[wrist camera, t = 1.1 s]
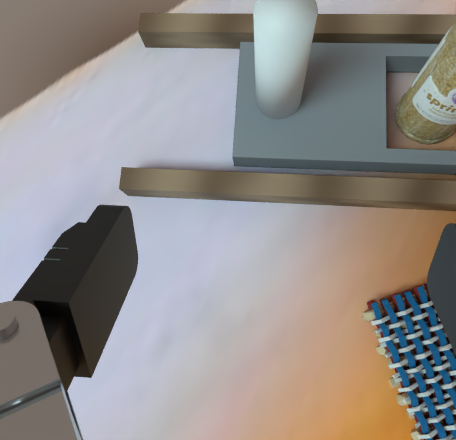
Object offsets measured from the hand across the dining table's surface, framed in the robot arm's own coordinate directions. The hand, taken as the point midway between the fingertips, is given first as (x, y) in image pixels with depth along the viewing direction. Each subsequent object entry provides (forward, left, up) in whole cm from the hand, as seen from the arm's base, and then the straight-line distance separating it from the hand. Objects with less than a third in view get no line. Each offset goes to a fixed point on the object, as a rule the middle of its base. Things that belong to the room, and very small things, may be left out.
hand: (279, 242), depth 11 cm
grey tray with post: (-8, -13, -19) cm, 24 cm away
